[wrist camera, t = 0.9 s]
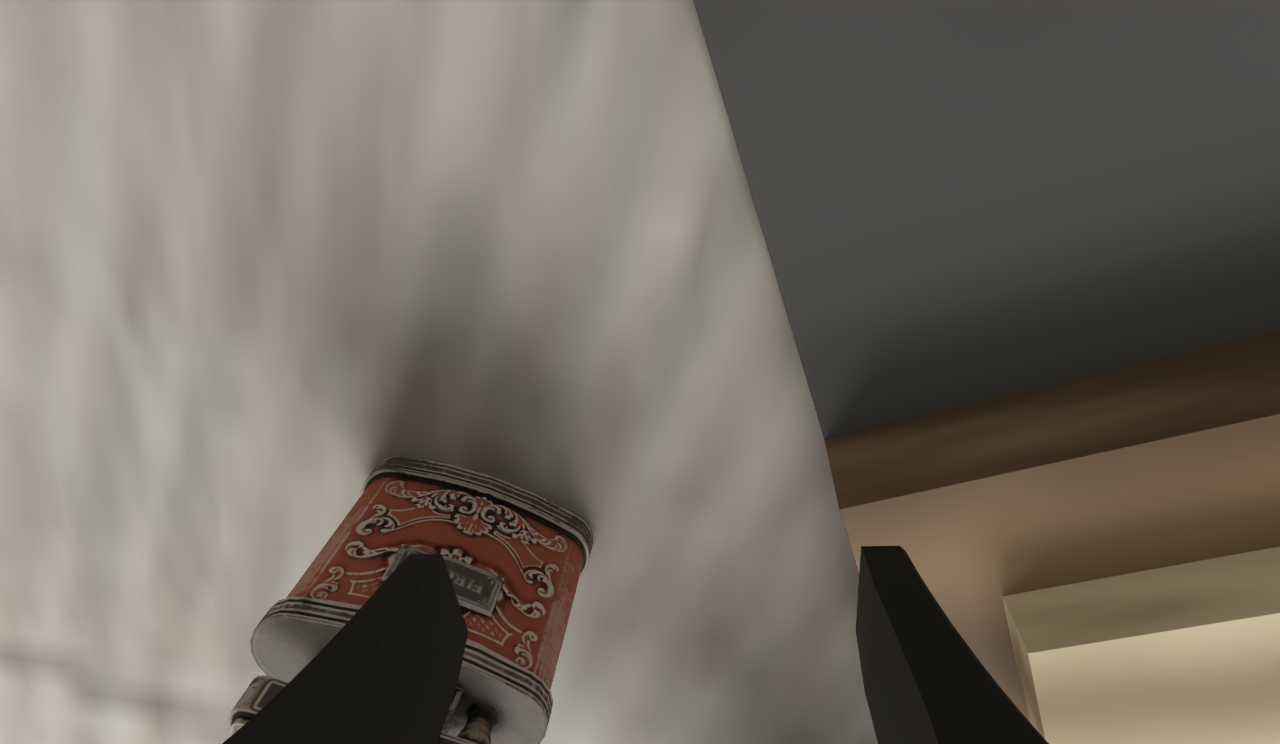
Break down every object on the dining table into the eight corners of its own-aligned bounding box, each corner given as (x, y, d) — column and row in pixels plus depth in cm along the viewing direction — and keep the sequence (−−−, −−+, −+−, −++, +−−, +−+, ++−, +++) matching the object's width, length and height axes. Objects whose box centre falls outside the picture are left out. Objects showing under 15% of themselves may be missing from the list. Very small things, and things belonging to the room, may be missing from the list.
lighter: (605, 515, 26) (540, 789, 17) (577, 584, 27) (503, 868, 18) (380, 437, 25) (191, 677, 16) (364, 512, 27) (184, 768, 18)
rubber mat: (1434, 281, 19) (1451, 288, 19) (823, 431, 23) (824, 439, 23) (1490, -396, 14) (1514, -409, 14) (678, -54, 18) (677, -55, 17)
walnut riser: (1407, 617, 24) (1524, 725, 21) (901, 695, 28) (926, 797, 24) (1434, 281, 19) (1592, 345, 16) (823, 431, 23) (839, 509, 20)
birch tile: (1378, 695, 21) (1439, 761, 19) (1031, 741, 23) (1057, 804, 21) (1389, 526, 18) (1460, 583, 17) (1002, 596, 20) (1028, 653, 19)
